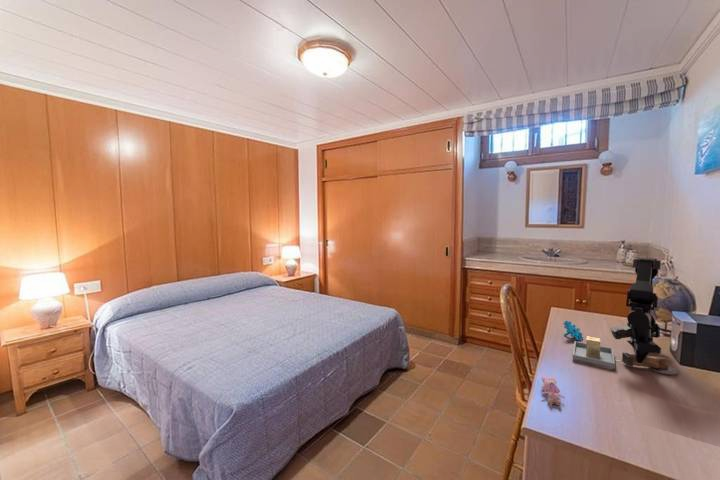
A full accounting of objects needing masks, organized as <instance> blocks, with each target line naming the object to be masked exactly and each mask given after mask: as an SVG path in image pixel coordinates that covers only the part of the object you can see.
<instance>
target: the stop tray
mask: <svg viewBox="0 0 720 480" xmlns="http://www.w3.org/2000/svg"><path fill="white" fill-rule="evenodd" d="M586 343H587V342H582V341H576V340H574V343H573V350H572V351H573V352H572V362H573V361H574V362H577V363H581V364H586V365H591V366H596V367H599V368H604V369H608V370H609V369H610V370H612V371H615V370H616V368H615V367H616V363H615V361H616V360H615V355H614V348H612V347H608V346H607V347H606V346H602V345H600V359H598V358H593V357H589V356H586Z"/></svg>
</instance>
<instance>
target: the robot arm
mask: <svg viewBox="0 0 720 480" xmlns="http://www.w3.org/2000/svg"><path fill="white" fill-rule="evenodd" d="M632 268H633V269H634V273H635V274H636V277H635V278H636V279H635V282H633V283H632V284H631V285H630V289H628V290H627V293H626V303H625V307H628V308H629V307H630V309H629V313H628V315H627V317H626V319H627V321H628V322H627V323H626V325H621V326H615V327H610V329H609V330H610V332H611V334H612V337H613V338H614V339H615V340H621V339H625V338H629V340H626V342H627V343H628V344H630V346H631V347H632V349H633V352H634V355H635V356H636V360H637V362H638V363H642V361H643V360H644V359H645V358H646V356H649V354H650V353H652V354H660V355H661V354H662V347H660V346H659V345H658V344H657V343H655V342H654V338H655V339H658V338H661V327H660V326H659V324H658V323H657V319H656V317H655V316H654V314H653V312H652V311H655V310H656V309H658V299H659V296H658V295H657V293H655V292H654V286H653V283H654V279H655V277H656V276H658V274H659V271H660V270H661V269H662V261H661V260H658V258H653V257H652V258H650V257H637V259H636V258H634V259H633V261H632Z"/></svg>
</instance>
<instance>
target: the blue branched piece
mask: <svg viewBox="0 0 720 480" xmlns="http://www.w3.org/2000/svg"><path fill="white" fill-rule="evenodd" d="M562 324H563V328H564V329H566V332H565V333H564V334H563V336H564V337H567V336H569V335H570V336H571V337H572V338H574V339H575V341H576V340H577V341H579V342H582V341H583V339H584V337H583V333H582V332H580V331H581V328H580V327H577V325H576V324H575V323H574V324H573V323H572V321H570V320H569V321H568V320H565V321H564V322H563V323H562Z"/></svg>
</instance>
